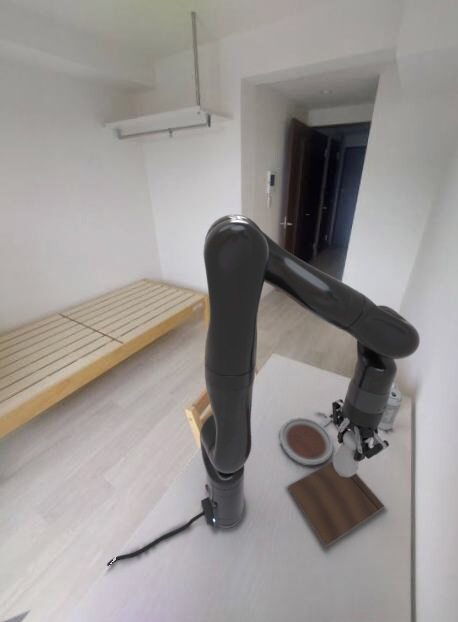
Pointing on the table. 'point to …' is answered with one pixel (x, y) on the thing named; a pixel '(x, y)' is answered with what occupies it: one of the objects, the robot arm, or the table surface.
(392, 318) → the robot arm
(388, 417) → the energy drink can
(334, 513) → the serving board
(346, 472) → the salt shaker
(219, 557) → the table surface
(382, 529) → the table surface
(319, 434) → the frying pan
